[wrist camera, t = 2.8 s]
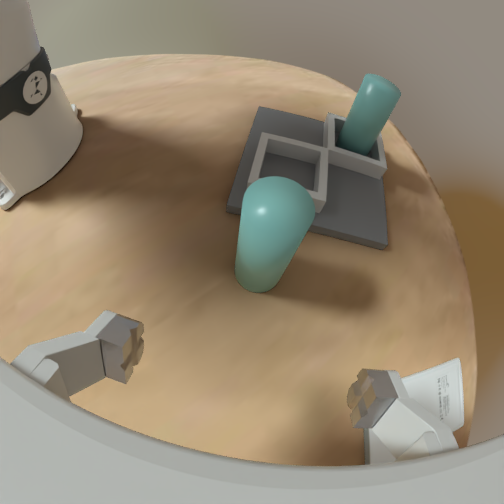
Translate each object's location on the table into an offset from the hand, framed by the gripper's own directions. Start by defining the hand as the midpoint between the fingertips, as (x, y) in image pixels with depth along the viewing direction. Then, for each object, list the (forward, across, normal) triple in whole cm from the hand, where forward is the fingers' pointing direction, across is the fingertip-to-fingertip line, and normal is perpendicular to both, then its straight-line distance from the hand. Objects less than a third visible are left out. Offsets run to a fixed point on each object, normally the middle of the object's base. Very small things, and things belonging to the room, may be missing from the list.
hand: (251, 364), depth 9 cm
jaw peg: (+15, 0, +3) cm, 15 cm away
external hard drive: (+8, -18, +11) cm, 22 cm away
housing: (+24, -4, -6) cm, 25 cm away
